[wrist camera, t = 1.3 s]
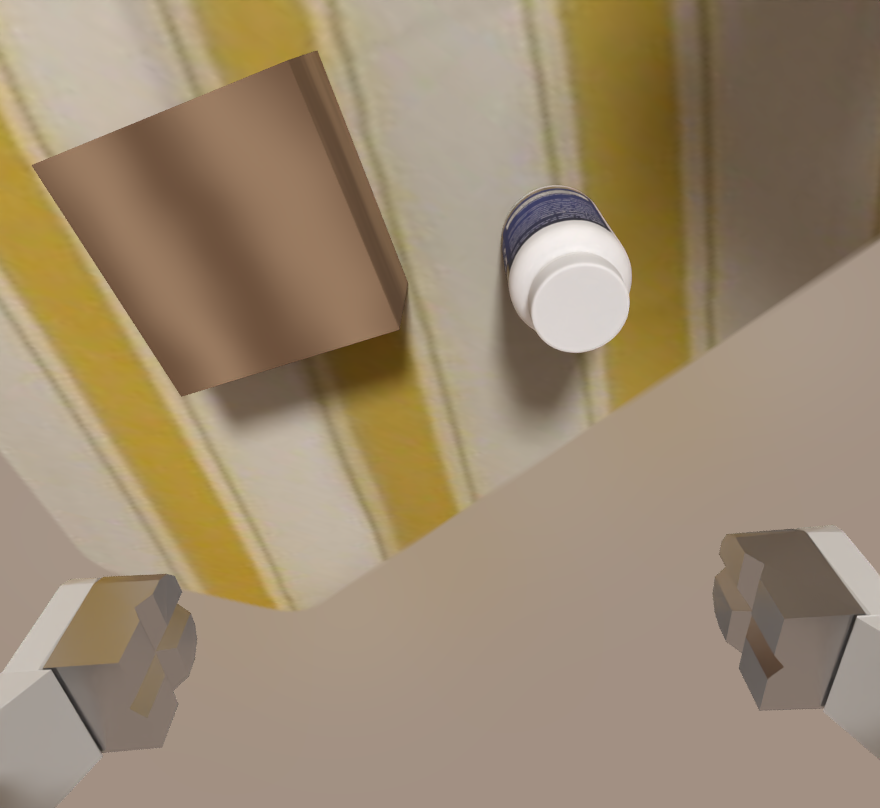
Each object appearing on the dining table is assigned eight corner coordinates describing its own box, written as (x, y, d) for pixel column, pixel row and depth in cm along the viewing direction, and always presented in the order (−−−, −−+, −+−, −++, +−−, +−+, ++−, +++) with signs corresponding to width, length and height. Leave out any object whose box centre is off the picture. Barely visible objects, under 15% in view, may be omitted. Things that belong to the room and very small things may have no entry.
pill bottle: (479, 232, 34) (485, 306, 26) (560, 160, 32) (594, 214, 24) (542, 302, 36) (567, 391, 28) (622, 238, 34) (675, 313, 26)
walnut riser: (317, 50, 30) (287, 60, 25) (407, 282, 36) (399, 329, 31) (99, 139, 32) (31, 165, 27) (218, 343, 38) (181, 396, 33)
